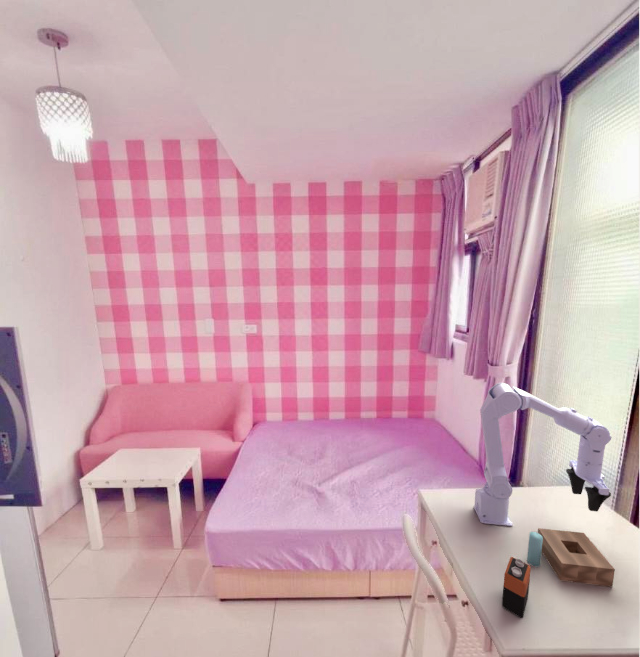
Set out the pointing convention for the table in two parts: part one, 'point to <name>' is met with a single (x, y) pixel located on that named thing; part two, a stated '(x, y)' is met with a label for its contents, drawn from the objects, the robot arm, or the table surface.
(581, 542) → the socket block
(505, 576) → the battery
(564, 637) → the table surface
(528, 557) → the teal peg
